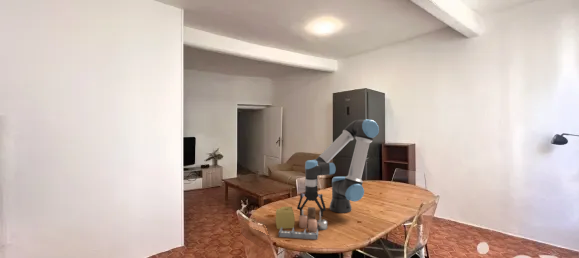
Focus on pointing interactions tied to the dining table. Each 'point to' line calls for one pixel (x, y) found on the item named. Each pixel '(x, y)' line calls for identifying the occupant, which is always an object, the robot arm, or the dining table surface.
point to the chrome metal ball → (321, 224)
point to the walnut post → (311, 213)
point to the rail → (298, 234)
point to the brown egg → (303, 221)
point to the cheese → (285, 218)
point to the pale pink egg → (312, 225)
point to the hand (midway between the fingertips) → (311, 220)
